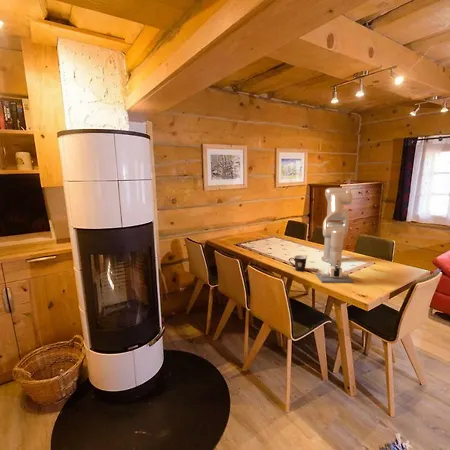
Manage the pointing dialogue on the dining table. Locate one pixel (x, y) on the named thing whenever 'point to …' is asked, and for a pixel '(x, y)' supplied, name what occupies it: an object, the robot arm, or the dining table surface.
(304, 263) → the coffee mug
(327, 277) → the rail
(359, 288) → the dining table surface
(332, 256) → the robot arm
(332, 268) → the block
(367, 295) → the dining table surface
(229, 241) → the dining table surface
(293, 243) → the dining table surface
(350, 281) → the mounting board
